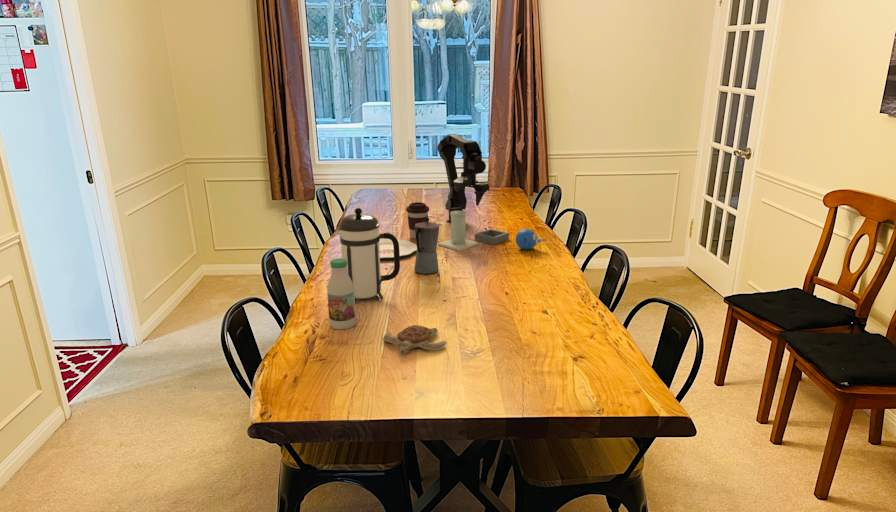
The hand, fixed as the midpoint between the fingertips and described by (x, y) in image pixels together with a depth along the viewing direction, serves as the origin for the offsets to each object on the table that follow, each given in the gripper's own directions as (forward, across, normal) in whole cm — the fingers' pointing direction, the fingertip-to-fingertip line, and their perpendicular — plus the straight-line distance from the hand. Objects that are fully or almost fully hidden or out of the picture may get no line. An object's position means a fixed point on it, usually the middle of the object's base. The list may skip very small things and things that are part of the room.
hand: (469, 204), depth 263 cm
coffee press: (+12, +27, -83) cm, 88 cm away
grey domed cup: (+11, +13, -22) cm, 27 cm away
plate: (+12, -4, -47) cm, 49 cm away
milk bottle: (+12, +39, -102) cm, 110 cm away
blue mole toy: (+12, +38, -6) cm, 40 cm away
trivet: (+12, +12, -21) cm, 27 cm away
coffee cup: (+12, -9, -24) cm, 28 cm away
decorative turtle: (+13, +63, -96) cm, 115 cm away
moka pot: (+12, +25, -53) cm, 60 cm away
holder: (+12, +18, -6) cm, 22 cm away
